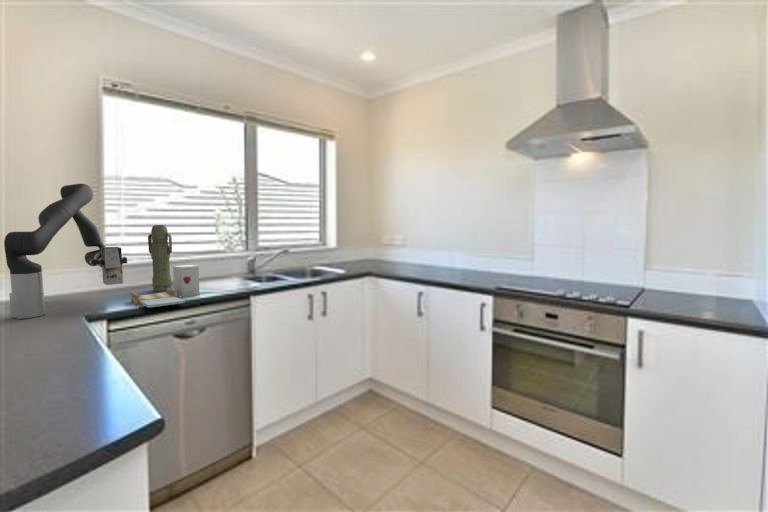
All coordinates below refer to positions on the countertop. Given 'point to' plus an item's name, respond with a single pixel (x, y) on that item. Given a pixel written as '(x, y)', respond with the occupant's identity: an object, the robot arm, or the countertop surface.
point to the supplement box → (186, 280)
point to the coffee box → (112, 265)
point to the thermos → (160, 257)
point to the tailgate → (161, 301)
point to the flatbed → (151, 296)
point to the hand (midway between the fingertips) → (113, 262)
